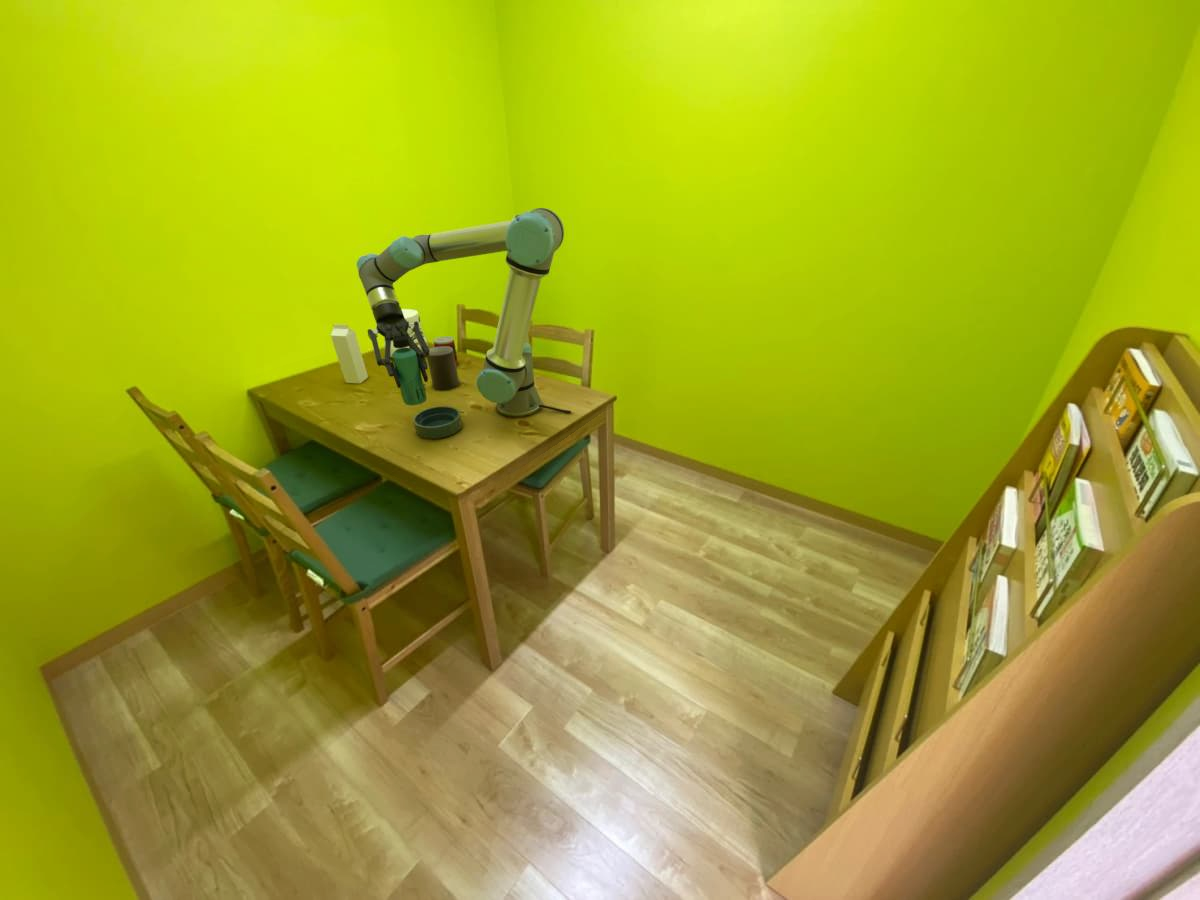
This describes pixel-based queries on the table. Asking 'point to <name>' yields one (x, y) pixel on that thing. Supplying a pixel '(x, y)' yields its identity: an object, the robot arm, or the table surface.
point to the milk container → (410, 317)
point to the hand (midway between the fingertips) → (412, 382)
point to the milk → (348, 354)
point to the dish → (437, 422)
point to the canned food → (446, 344)
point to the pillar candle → (443, 368)
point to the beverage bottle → (408, 372)
